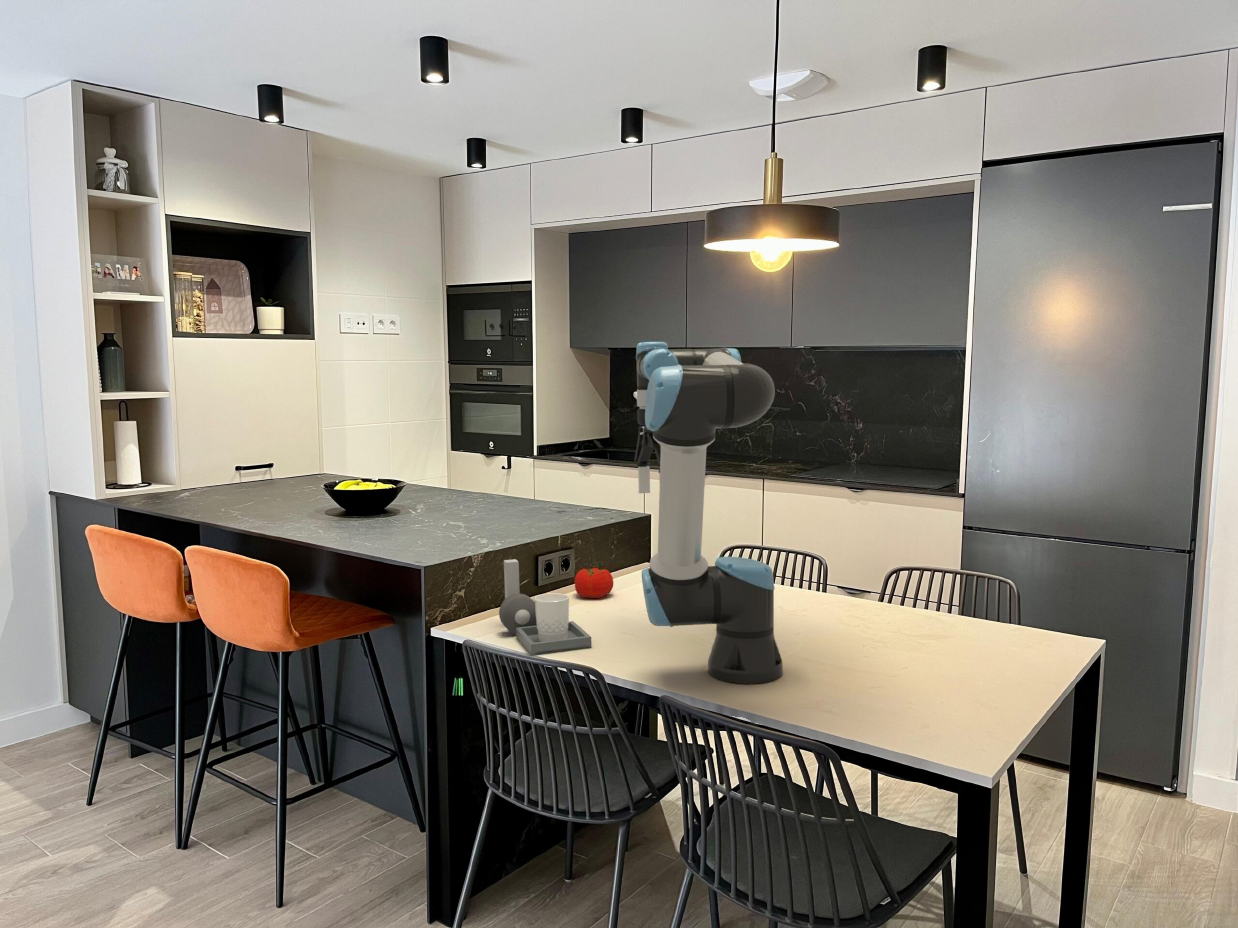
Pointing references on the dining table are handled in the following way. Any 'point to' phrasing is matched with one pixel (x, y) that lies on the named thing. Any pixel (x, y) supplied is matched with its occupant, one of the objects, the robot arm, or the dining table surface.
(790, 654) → the dining table surface
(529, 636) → the tray
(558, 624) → the white cup
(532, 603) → the trolley wheel
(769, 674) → the robot arm
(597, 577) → the tomato
